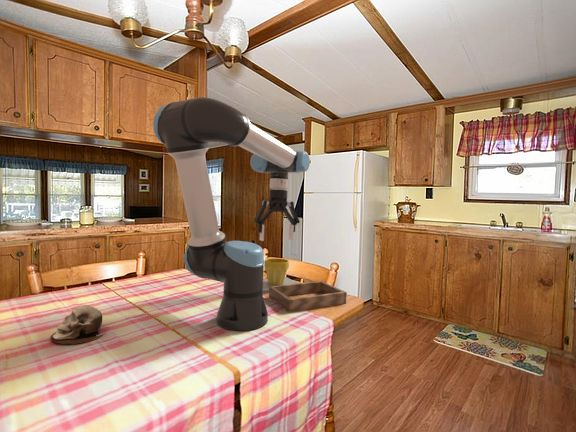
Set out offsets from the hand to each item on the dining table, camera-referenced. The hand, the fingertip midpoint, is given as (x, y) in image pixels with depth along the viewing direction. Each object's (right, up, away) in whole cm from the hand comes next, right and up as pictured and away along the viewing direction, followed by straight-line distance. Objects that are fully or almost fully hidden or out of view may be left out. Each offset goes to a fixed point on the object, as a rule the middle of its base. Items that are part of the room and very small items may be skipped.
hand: (276, 240), depth 130 cm
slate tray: (-1, -19, +1) cm, 20 cm away
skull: (-49, -21, -50) cm, 73 cm away
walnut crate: (+12, -21, -16) cm, 29 cm away
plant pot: (0, -18, +1) cm, 19 cm away
